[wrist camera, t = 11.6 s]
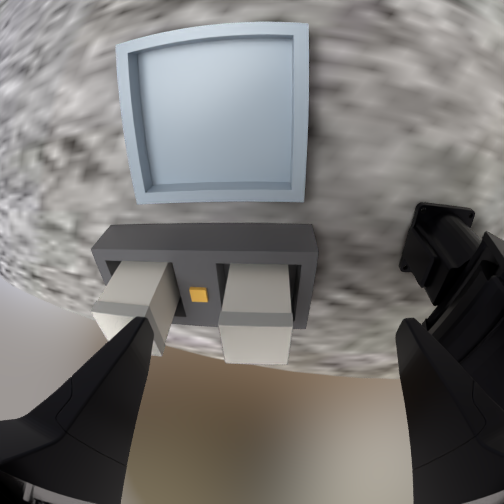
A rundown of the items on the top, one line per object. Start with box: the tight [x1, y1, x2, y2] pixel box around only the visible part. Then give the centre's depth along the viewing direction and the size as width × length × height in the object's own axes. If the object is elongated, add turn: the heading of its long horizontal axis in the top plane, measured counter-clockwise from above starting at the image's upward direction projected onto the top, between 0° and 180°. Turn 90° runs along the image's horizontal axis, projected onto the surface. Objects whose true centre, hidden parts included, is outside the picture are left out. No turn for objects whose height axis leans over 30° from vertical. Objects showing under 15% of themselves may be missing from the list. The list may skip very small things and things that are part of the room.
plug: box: [90, 261, 181, 356], centre depth 19 cm, size 4×4×7 cm
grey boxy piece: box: [91, 223, 319, 365], centre depth 19 cm, size 16×8×8 cm, turn 91°
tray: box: [116, 22, 309, 204], centre depth 15 cm, size 11×11×2 cm
